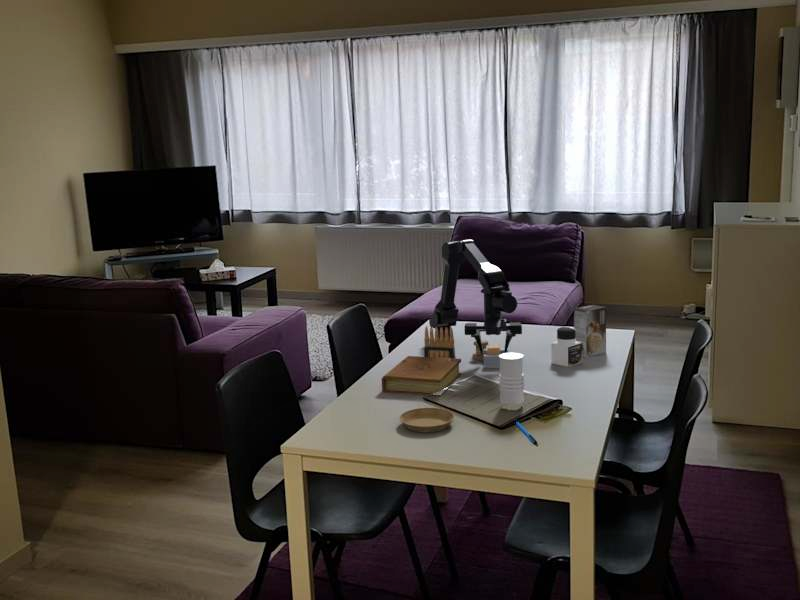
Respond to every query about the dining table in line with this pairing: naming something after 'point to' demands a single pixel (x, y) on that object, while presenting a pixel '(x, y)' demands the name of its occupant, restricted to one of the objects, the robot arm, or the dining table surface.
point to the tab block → (493, 349)
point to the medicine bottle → (566, 348)
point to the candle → (511, 378)
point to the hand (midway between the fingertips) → (493, 353)
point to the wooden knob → (478, 354)
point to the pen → (526, 433)
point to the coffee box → (591, 329)
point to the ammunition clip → (445, 344)
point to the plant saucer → (426, 419)
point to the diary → (421, 375)
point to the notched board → (492, 359)
